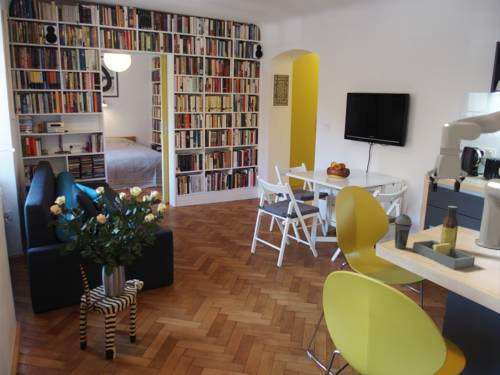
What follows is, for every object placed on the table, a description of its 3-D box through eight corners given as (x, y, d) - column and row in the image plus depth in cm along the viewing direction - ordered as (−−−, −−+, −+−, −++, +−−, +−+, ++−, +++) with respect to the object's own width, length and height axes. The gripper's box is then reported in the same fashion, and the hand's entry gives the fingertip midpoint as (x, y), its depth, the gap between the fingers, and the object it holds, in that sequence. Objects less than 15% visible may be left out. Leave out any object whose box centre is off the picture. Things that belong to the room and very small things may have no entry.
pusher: (439, 250, 180) (441, 240, 179) (449, 254, 175) (450, 243, 174) (425, 252, 177) (426, 241, 176) (434, 256, 172) (436, 245, 171)
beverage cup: (389, 244, 189) (394, 202, 185) (405, 245, 189) (410, 203, 185) (394, 250, 182) (399, 206, 178) (411, 250, 182) (416, 207, 178)
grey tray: (431, 248, 186) (432, 239, 185) (473, 266, 166) (475, 257, 165) (412, 250, 182) (413, 242, 181) (453, 269, 162) (455, 260, 161)
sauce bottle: (456, 252, 182) (462, 209, 178) (441, 250, 183) (447, 208, 179) (452, 247, 188) (458, 205, 184) (438, 246, 190) (443, 204, 186)
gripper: (465, 151, 177) (460, 189, 181) (425, 151, 177) (421, 189, 181) (474, 153, 170) (469, 193, 173) (433, 153, 170) (429, 193, 173)
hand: (445, 191), depth 177 cm, fingers open, 9 cm apart
